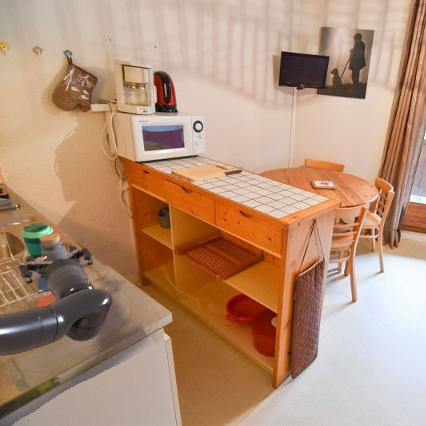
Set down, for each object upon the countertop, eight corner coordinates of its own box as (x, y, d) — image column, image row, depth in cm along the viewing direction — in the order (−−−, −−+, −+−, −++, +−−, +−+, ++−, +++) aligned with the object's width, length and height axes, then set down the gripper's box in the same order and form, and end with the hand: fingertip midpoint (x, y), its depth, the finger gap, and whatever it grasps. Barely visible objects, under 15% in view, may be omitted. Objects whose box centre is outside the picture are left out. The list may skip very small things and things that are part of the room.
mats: (37, 318, 85) (36, 317, 85) (38, 276, 101) (38, 275, 101) (87, 304, 92) (86, 303, 92) (80, 267, 108) (80, 266, 108)
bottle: (74, 279, 101) (63, 237, 95) (51, 285, 97) (38, 243, 91) (71, 271, 105) (60, 230, 99) (48, 277, 101) (35, 235, 95)
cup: (54, 249, 117) (45, 219, 112) (63, 256, 113) (55, 226, 108) (26, 257, 110) (15, 226, 106) (34, 266, 106) (24, 234, 102)
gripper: (98, 256, 80) (79, 233, 90) (24, 278, 70) (11, 250, 80) (103, 281, 83) (85, 256, 93) (33, 305, 73) (20, 274, 83)
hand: (51, 253), depth 86 cm, fingers open, 8 cm apart
